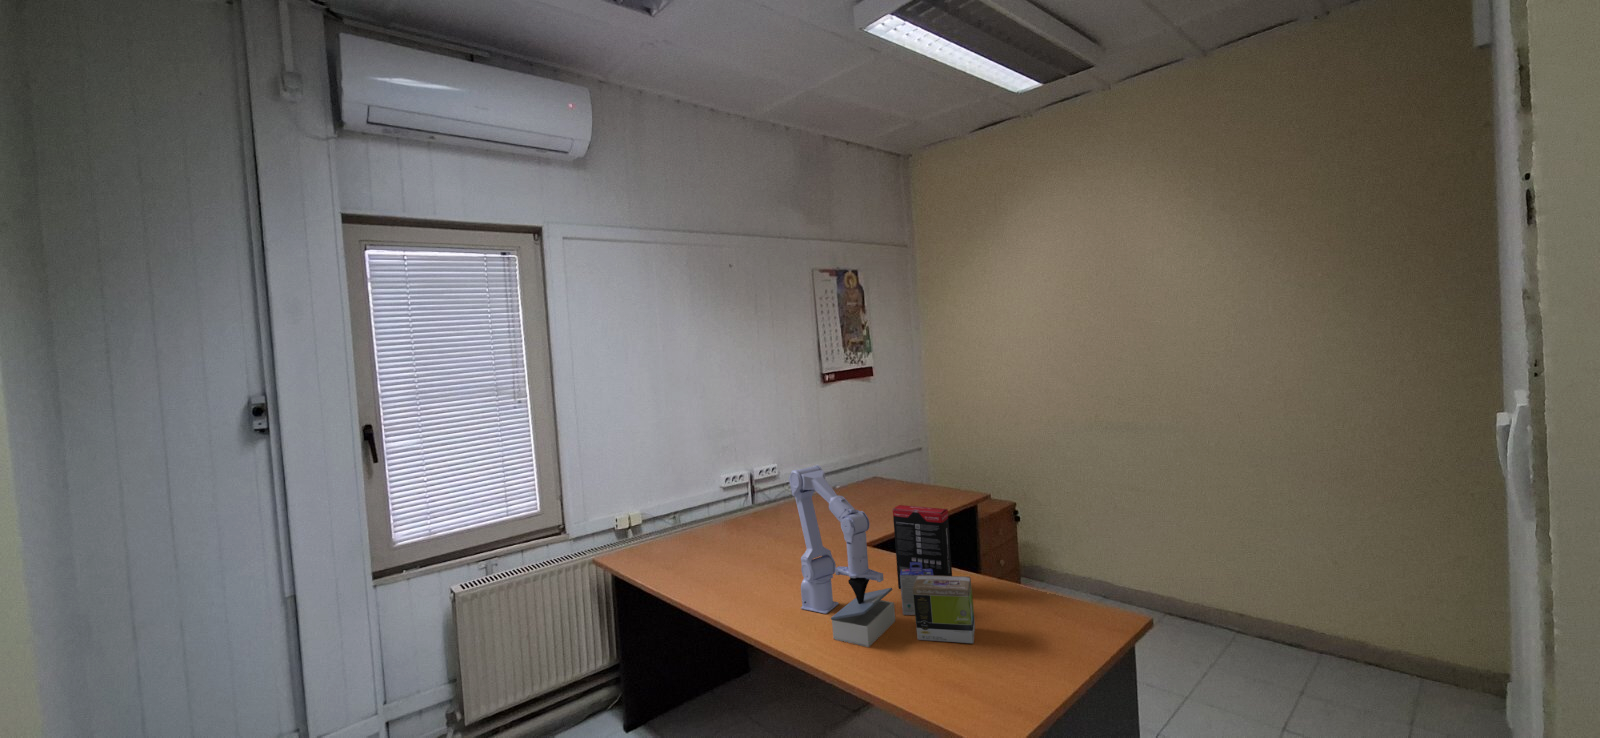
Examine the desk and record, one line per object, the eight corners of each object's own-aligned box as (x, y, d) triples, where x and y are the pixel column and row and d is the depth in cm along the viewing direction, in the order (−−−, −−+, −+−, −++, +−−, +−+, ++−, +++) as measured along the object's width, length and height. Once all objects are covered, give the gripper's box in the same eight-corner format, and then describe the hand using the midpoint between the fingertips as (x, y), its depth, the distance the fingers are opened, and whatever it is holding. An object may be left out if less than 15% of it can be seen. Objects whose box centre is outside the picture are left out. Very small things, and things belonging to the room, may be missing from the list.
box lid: (831, 620, 167) (830, 616, 167) (860, 596, 182) (859, 593, 182) (864, 613, 161) (863, 610, 161) (892, 589, 176) (891, 586, 176)
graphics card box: (955, 590, 193) (948, 506, 193) (948, 598, 187) (941, 512, 187) (905, 583, 203) (899, 503, 202) (897, 591, 197) (890, 508, 196)
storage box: (833, 639, 168) (831, 619, 167) (862, 614, 182) (860, 596, 181) (868, 647, 161) (866, 627, 161) (895, 620, 176) (893, 602, 175)
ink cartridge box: (936, 607, 182) (932, 560, 182) (936, 615, 177) (932, 567, 176) (903, 607, 184) (899, 560, 184) (902, 615, 179) (898, 567, 178)
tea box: (975, 627, 168) (971, 575, 167) (973, 645, 158) (969, 590, 158) (921, 623, 173) (917, 573, 172) (916, 640, 163) (912, 587, 163)
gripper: (828, 556, 172) (832, 603, 172) (873, 563, 164) (877, 612, 164) (840, 549, 178) (844, 594, 178) (885, 555, 170) (888, 602, 170)
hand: (861, 602), depth 172 cm, fingers closed, pressing on box lid
